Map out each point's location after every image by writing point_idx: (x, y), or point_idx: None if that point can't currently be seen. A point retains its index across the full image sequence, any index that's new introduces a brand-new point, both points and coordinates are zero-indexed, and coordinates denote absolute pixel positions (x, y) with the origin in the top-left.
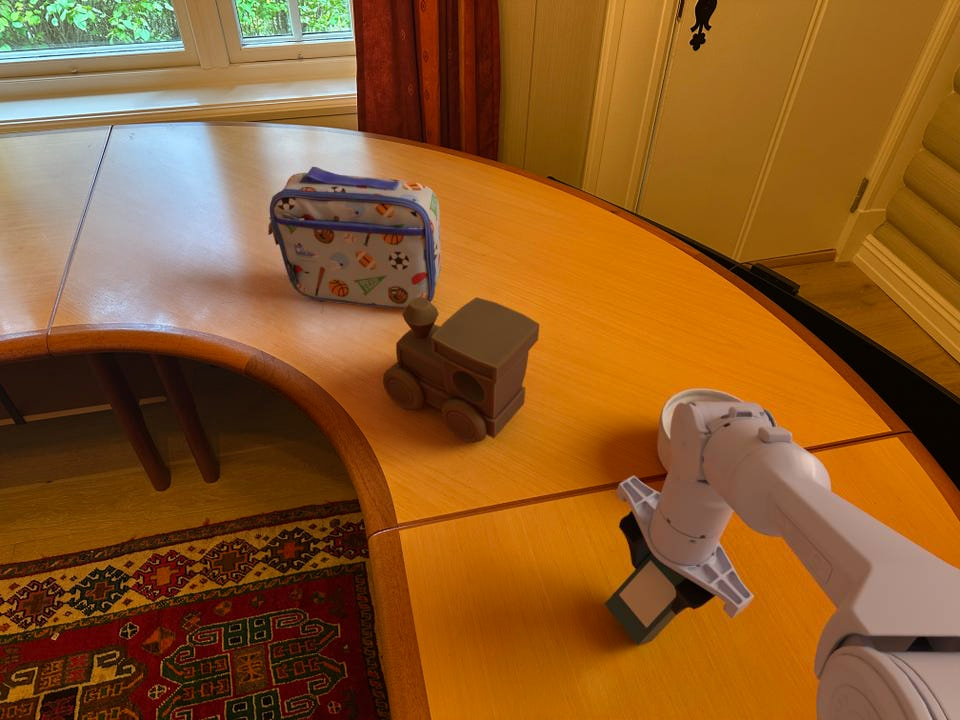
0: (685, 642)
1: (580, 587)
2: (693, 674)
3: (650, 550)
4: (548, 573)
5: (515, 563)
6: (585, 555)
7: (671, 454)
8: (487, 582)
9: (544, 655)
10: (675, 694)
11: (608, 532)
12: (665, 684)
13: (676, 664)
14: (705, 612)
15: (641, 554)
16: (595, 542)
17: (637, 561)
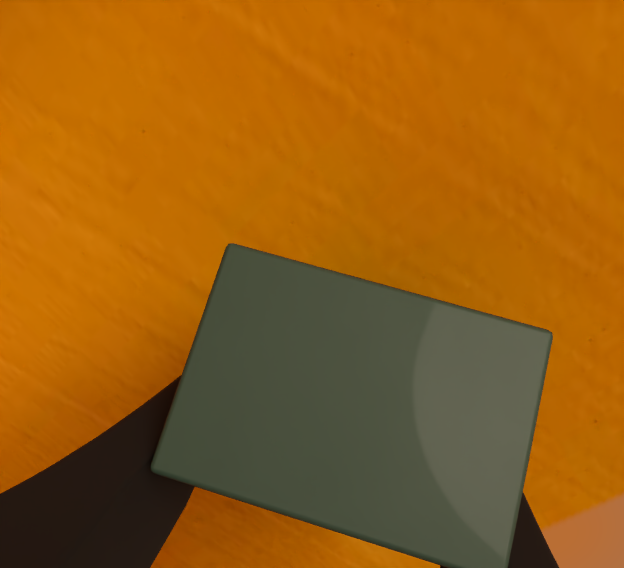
0: (543, 317)
1: (165, 364)
2: (615, 392)
3: (160, 481)
4: (76, 382)
5: (5, 409)
6: (90, 265)
7: None
8: (16, 482)
9: (240, 545)
10: (585, 467)
11: (62, 125)
12: (543, 459)
13: (548, 395)
14: (565, 158)
15: (142, 556)
16: (70, 199)
17: (168, 529)
